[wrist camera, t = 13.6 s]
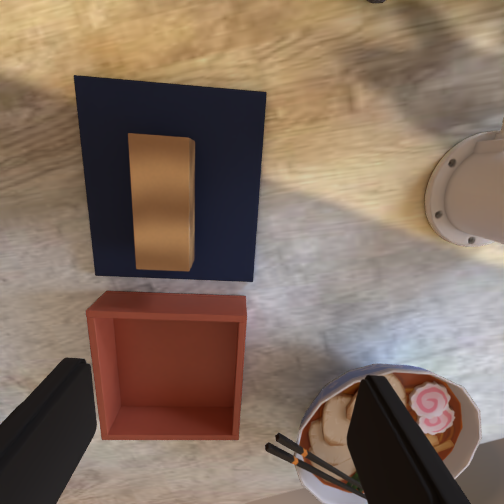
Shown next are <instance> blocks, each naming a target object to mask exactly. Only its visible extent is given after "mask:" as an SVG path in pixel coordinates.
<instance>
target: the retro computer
mask: <svg viewBox="0 0 504 504" xmlns="http://www.w3.org/2000/svg"><path fill="white" fill-rule="evenodd" d="M367 1H369V2H371V3H383V2H384V1H386V0H367Z"/></svg>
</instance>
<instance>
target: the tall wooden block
mask: <svg viewBox="0 0 504 504" xmlns="http://www.w3.org/2000/svg"><path fill="white" fill-rule="evenodd" d="M128 143H129V159H130V176H131V192H132V209H133V225H134V241H135V258H136V269H144V270H167V271H190V268H191V266H192V264H193V262H194V232H195V141H194V140H192V139H190V138H187V137H174V136H160V135H147V134H134V133H128Z"/></svg>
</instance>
